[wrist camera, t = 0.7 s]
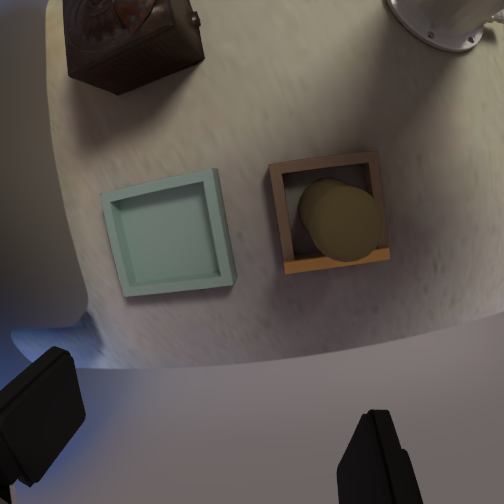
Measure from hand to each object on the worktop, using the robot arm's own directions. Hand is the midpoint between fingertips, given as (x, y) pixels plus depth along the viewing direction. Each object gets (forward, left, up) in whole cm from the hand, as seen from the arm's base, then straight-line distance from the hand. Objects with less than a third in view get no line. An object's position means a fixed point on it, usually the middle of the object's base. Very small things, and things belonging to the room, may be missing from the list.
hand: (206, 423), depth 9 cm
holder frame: (-7, -3, -24) cm, 25 cm away
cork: (-7, -3, -24) cm, 25 cm away
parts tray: (+9, -3, -24) cm, 26 cm away
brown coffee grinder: (+8, -27, -24) cm, 37 cm away
